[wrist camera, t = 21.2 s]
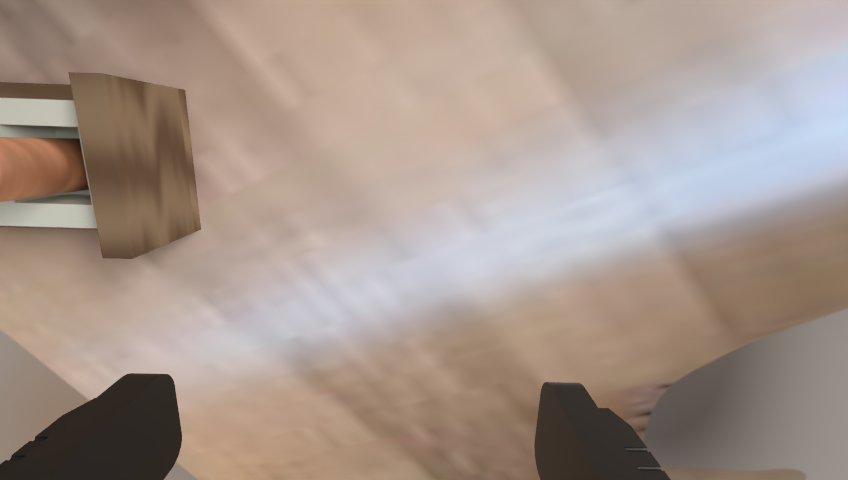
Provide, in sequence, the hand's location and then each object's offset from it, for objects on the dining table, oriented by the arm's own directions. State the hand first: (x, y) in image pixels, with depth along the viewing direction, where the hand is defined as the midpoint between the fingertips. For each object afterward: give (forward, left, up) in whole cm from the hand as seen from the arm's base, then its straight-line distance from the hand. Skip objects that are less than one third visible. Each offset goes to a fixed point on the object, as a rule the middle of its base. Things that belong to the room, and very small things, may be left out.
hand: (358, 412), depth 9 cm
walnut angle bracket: (-3, -31, -28) cm, 42 cm away
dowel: (-3, -25, -26) cm, 37 cm away
